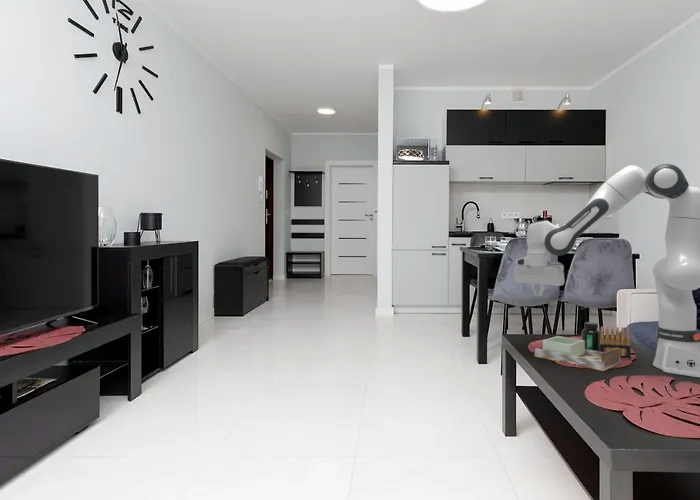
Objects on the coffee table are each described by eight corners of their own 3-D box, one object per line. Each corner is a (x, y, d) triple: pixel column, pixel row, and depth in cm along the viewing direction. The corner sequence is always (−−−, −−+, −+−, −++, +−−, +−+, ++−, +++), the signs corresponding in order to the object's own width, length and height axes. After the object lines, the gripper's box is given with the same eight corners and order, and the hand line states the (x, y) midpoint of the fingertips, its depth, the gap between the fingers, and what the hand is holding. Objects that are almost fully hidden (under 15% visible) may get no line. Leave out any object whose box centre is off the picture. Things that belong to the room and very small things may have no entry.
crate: (584, 353, 185) (584, 340, 185) (570, 359, 178) (570, 345, 178) (557, 348, 194) (557, 335, 194) (542, 353, 187) (542, 340, 187)
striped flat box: (620, 363, 177) (620, 347, 176) (603, 370, 168) (603, 353, 168) (553, 350, 197) (553, 335, 197) (534, 356, 188) (534, 341, 188)
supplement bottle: (591, 356, 187) (592, 325, 187) (577, 352, 194) (577, 322, 193) (604, 354, 190) (604, 324, 189) (590, 350, 196) (590, 321, 196)
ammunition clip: (630, 358, 184) (630, 326, 183) (631, 359, 182) (631, 327, 182) (598, 355, 187) (599, 325, 187) (599, 357, 186) (599, 326, 185)
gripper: (567, 261, 187) (567, 297, 187) (520, 259, 203) (520, 292, 203) (559, 262, 183) (559, 298, 183) (511, 260, 199) (511, 293, 199)
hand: (538, 295), depth 193 cm, fingers closed
